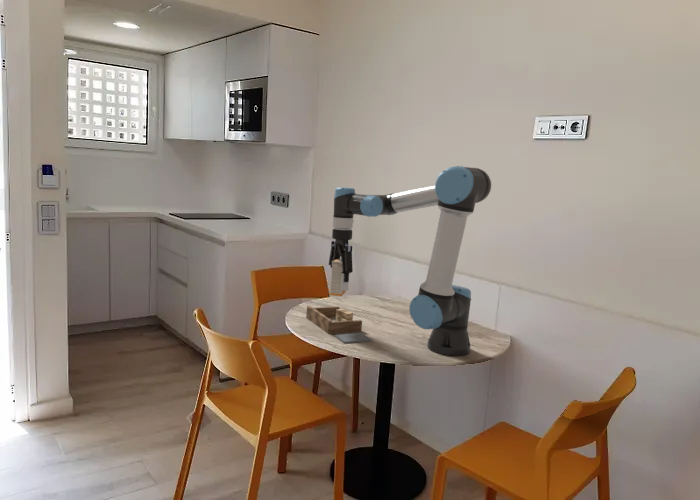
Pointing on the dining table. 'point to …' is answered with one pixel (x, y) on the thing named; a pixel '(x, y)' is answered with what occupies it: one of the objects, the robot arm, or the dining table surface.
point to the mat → (353, 338)
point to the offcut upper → (344, 314)
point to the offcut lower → (341, 319)
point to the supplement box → (336, 278)
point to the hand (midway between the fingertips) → (339, 287)
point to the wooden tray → (326, 324)
